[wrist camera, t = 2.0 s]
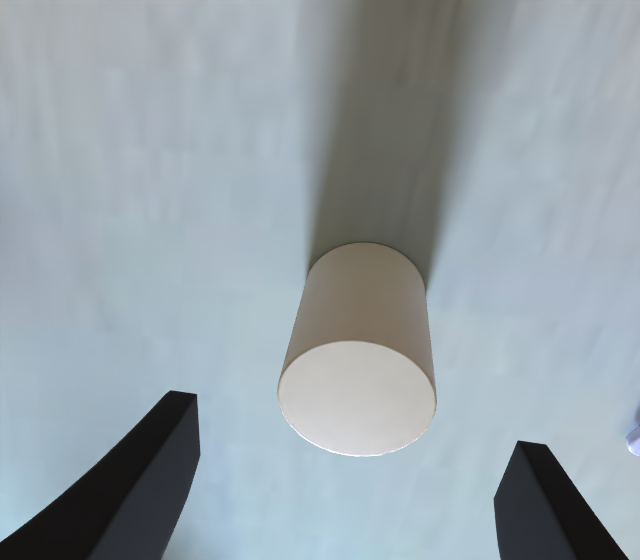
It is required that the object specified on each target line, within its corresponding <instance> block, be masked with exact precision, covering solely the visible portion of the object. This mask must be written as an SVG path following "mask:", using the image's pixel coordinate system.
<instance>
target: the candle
mask: <svg viewBox="0 0 640 560" xmlns="http://www.w3.org/2000/svg"><path fill="white" fill-rule="evenodd" d="M277 394H278V401H279V405H280V409H281V411H282V413H283V415H284V417H285V419H286V420H287V422H288V423H289V424H290V426H291V427H292V428H293V429H294V430H295V431H296V432H297V433H298V434H299V435H301V436H302V437H303V438H305V439H306V440H308V441H309V442H311V443H313V444H314V445H316V446H318V447H321V448H323V449H326V450H328V451H331V452H335V453H339V454H344V455H350V456H375V455H382V454H387V453H390V452H394V451H397V450H399V449H401V448H404V447H406V446H407V445H409V444H411V443H412V442H414V441H415V440H416V439H418V438H419V437H420V436H421V435H422V434H423V433H424V432H425V431H426V429H427V428H428V427H429V425H430V423H431V421H432V419H433V417H434V414H435V411H436V404H437V398H436V387H435V378H434V368H433V359H432V350H431V340H430V331H429V321H428V312H427V303H426V293H425V287H424V282H423V280H422V277H421V275H420V273H419V271H418V270H417V268H416V267H415V266H414V264H413V263H412V262H411V261H410V260H409V259H408V258H406V257H405V256H404V255H402V254H401V253H399V252H397V251H396V250H394V249H392V248H389V247H387V246H383V245H380V244H375V243H352V244H347V245H343V246H340V247H337V248H335V249H333V250H331V251H329V252H328V253H326V254H325V255H323V256H322V257H321V258H320V259H319V260H318V261H317V262H316V263H315V264H314V265H313V267H312V269H311V270H310V272H309V274H308V276H307V279H306V283H305V287H304V290H303V294H302V298H301V301H300V305H299V309H298V312H297V316H296V320H295V324H294V327H293V331H292V335H291V338H290V342H289V346H288V349H287V353H286V357H285V360H284V364H283V368H282V371H281V375H280V379H279V383H278V390H277Z"/></svg>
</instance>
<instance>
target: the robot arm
mask: <svg viewBox="0 0 640 560" xmlns="http://www.w3.org/2000/svg"><path fill="white" fill-rule="evenodd" d="M625 442H626V444H627V446H628V448H629V450H630V452H632V453H633V454H635V455H637V456H639V457H640V425H639V426H638V427H637V428H636V429H635V430H633V431H632V432H631V433H630V434H629V435H628V436H627V437H626V440H625ZM199 458H200V440H199V423H198V406H197V394H192V393H185V392H179V391H172V390H171V391H169V392H168V393H166V394H165V395H164V396H163V397H162V399H161V400H160V401H159V402H158V403H157V404H156V405H155V406H154V407H153V408H152V409H151V410H150V411H149V412H148V413H147V414H146V415H145V417H144V418H143V419H142V420H141V421H140V422H139V423H138V424H137V425H136V426H135V427H134V428H133V429H132V430H131V431H130V432H129V433H128V434H127V435H126V436H125V437H124V438H123V439H122V440H121V441H120V442H119V443H118V444H117V445H116V446H114V447H113V448H112V449H111V450H110V451H109V452H108V453H107V454H106V455H105V456H104V457H103V458H102V459H101V460H100V461H99V462H98V463H97V464H96V465H94V466H93V467H92V468H91V469H90V470H89V471H88V472H87V473H86V474H84V475H83V476H82V477H81V478H80V479H79V480H78V481H76V482H75V483H74V484H73V485H72V486H71V487H70V488H68V489H67V490H66V491H65V492H64V493H63V494H62V495H60V496H59V497H58V498H57V499H56V500H54V501H53V502H52V503H51V504H50V505H48V506H47V507H46V508H45V509H43V510H42V511H41V512H40V513H38V514H37V515H36V516H35V517H33V518H32V519H31V520H29V521H28V522H27V523H25V524H24V525H23V526H22V527H20V528H19V529H18V530H16V531H15V532H14V533H12V534H11V535H10V536H8V537H7V538H6V539H4V540H3V541H1V542H0V560H161V558H162V556H163V554H164V551H165V549H166V547H167V545H168V542H169V540H170V538H171V535H172V533H173V531H174V528H175V526H176V524H177V521H178V519H179V517H180V514H181V512H182V510H183V507H184V505H185V502H186V500H187V497H188V494H189V491H190V488H191V485H192V481H193V478H194V475H195V471H196V468H197V465H198V461H199ZM494 510H495V521H496V531H497V540H498V548H499V553H500V558H501V560H629V559H628V558H627V556H626V555H625V554H624V553H623V551H622V550H621V549H620V547H619V546H618V545H617V543H616V542H615V541H614V539H613V538H612V537H611V535H610V534H609V533H608V531H607V530H606V528H605V527H604V526H603V524H602V523H601V522H600V520H599V519H598V518H597V516H596V515H595V514H594V512H593V511H592V509H591V508H590V507H589V505H588V504H587V502H586V501H585V499H584V498H583V497H582V495H581V494H580V492H579V491H578V490H577V488H576V487H575V485H574V484H573V482H572V481H571V479H570V478H569V477H568V475H567V474H566V472H565V471H564V469H563V468H562V466H561V465H560V463H559V462H558V461H557V459H556V458H555V456H554V455H553V453H552V452H551V451H550V449H549V448H548V446H547V445H545V444H539V443H532V442H525V441H517V444H516V446H515V449H514V451H513V454H512V456H511V458H510V461H509V463H508V466H507V468H506V470H505V473H504V475H503V478H502V480H501V482H500V485H499V487H498V490H497V492H496V495H495V497H494Z"/></svg>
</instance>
